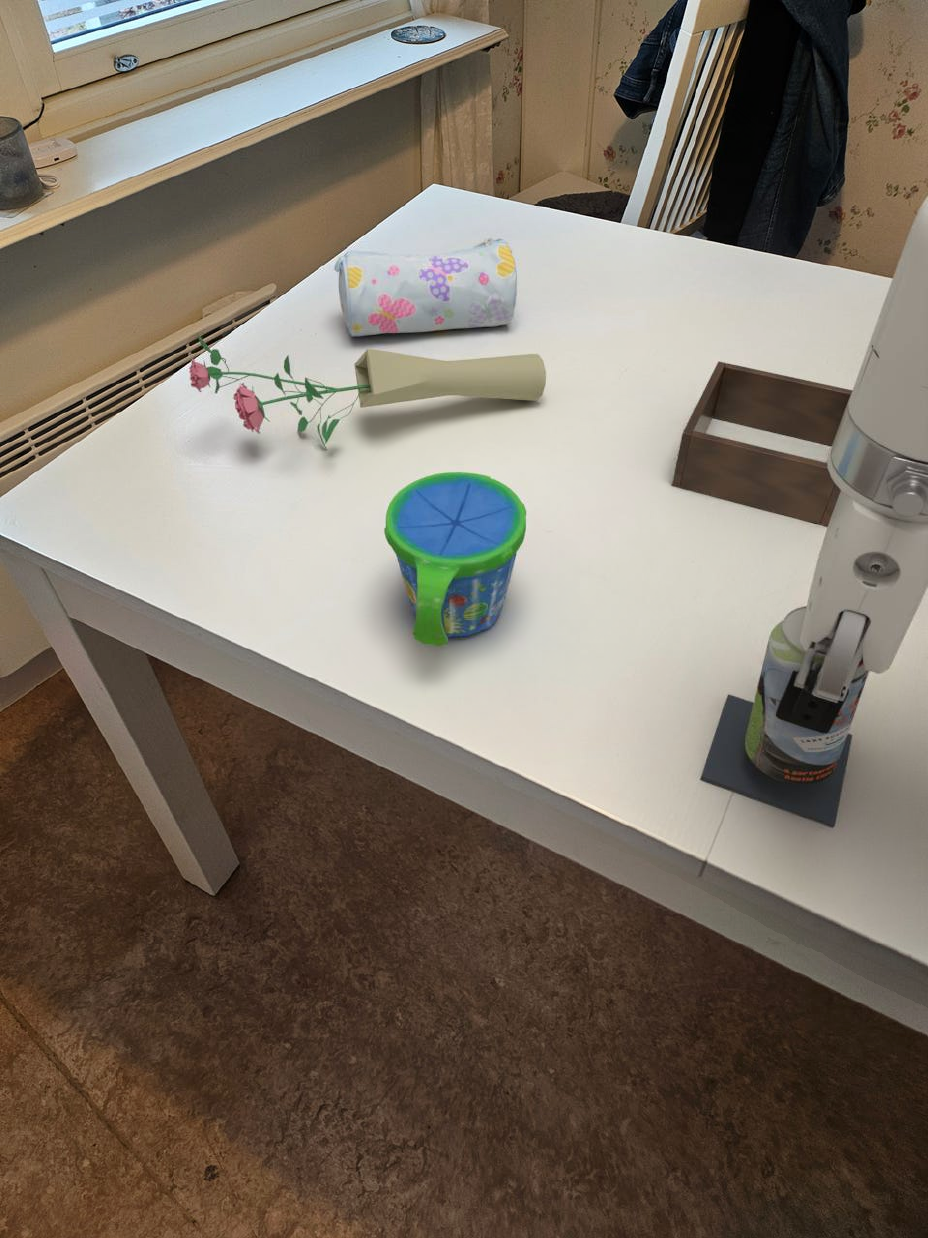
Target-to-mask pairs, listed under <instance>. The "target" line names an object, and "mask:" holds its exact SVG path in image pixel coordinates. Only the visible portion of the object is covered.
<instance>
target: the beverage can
mask: <svg viewBox="0 0 928 1238" xmlns="http://www.w3.org/2000/svg"><path fill="white" fill-rule="evenodd" d="M806 606H807V605H803V606H800V607H797V608H794V609H792V610H791V611H789V612H788V613H787V614H786V615H785V616H784V618H783V619H782V620H781V621H779V622H778V623H776V625H775V626H774V627H773V629H772V630H771V632H770V634H769V637H768V640H767V644H766V645H767V646H766V647H765V653H764V656H763V657H764V658H763V661H762V666H761V669H760V674H759V678H758V683H757V687H756V690H755V691H756V692H755V696H754V700H753V703H754V704H753V708H752V712H751V717H750V721H749V725H748V730H747V734H746V739H745V748H746V751H747V754H748V756H749V758H750V759H751V761H752V762H753V763H754V765H755V766H756V767H757V768H759V769H760V770H761V771H762V772H764V773H765V774H767V775H768V776H770V777H772V778H774V779H777V780H779V781H782V782H786V783H790V784H799V785H804V784H813V783H817V782H820V781H823V780H824V779H826V778H828V777H829V776H830V775H831V774H832V773H833V772H834V770H835V769H836V767H837V764H838V761H839V758H840V755H841V752H842V749H843V746H844V744H845V741H846V738H847V735H848V734H849V732H850V729H851V725H852V723H853V720H854V717H855V714H856V711H857V708H858V706H859V701H860V699H861V696H862V694H863V691H864V688H865V684H866V682H867V679H868V676H869V674H870V671H868V670H865V669H864V663H863V656H862V658H861V661H860V662H859V665H858V667H857V670H856V672H855V674H854V677H853V679H852V682H851V684H850V687H849V693H848V696H847V698H846V700H845V702H844V704H843V706H842V708H841V710H840V712H839V713H838V715H837V717H836V719H835V721H834V723H833V725H832V727H831V729H830V731H829V732H828V733H825V734H824V733H819V732H816V731H813V730H810V729H807V728H804V727H801V726H798V725H795V724H792V723H789V722H786V721H783V720H780V719H778V718H777V717H776V711H777V708H778V705H779V703H780V701H781V698H782V696H783V693H784V691H785V689H786V686H787V684H788V682H789V679H790V677H791V674H792V672H793V671H796V672H797V671H799V668H800V666H801V663H802V660H803V658H804V655H805V652H806V651H805V650H804V648H803V647H802V645H801V643H800V635H801V630H802V626H803V621H804V616H805V611H806ZM832 636H833V632H831V634H830V635H828V636H827V638H830V639H832ZM825 657H826V655H825V654H821V653H818V652H817V655H816V658H815V660H814V663H813V665H812V668H811V669H812V670H815V671H818V672H820V671H821V668H822V665H823V663H824V660H825Z"/></svg>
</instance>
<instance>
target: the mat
mask: <svg viewBox="0 0 928 1238" xmlns="http://www.w3.org/2000/svg"><path fill="white" fill-rule="evenodd" d="M753 704H754V701H750V700H748V699H744V698H741V697H738V696H735V695H732V694H729V693H728V694H727V697H726V699H725V702H724V706H723V708H722V710H721V711H722V712H721V715H720V718H719V720H718V724H717V726H716V730H715V733H714V736H713V739H712V742H711V744H710V748H709V750H708V754H707V757H706V760H705V764H704V767H703V770H702V773H701V776H700V780H701V781H704V782H706V783H709V784H712V785H715V786H718V787H721V788H723V789H726V790H729V791H731V792H734V793H737V794H739V795H742V796H745V797H748V798H751V799H754V800H756V801H759V802H761V803H765V804H768V805H770V806H773V807H775V808H778V809H781V810H784V811H787V812H790V813H792V814H795V815H797V816H799V817H800V816H801V817H803V818H805V819H809V820H812V821H814V822H816V823H820V824H823V825H825V826H827V827H831V828H834V827H835V825H836V821H837V816H838V810H839V806H840V801H841V795H842V791H843V790H842V789H843V785H844V780H845V776H846V775H845V774H846V771H847V770H846V768H847V765H848V759H849V756H850V755H849V754H850V750H851V749H850V748H851V743H852V740H853V739H852V738H853V735H852V734H851V733H848V735H847V738H846V741H845V744H844V746H843V749H842V752H841V755H840V758H839V761H838V764H837V767H836V769H835V770H834V772H833V773H832V774H831V775H830V776H829V777H828V778H826V779H824V780H823V781H820V782H817V783H813V784H804V785H799V784H790V783H786V782H782V781H779V780H777V779H774V778H772V777H770V776H768V775H767V774H765V773H764V772H762V771H761V770H760V769H759V768H757V767H756V766H755V765H754V763H753V762H752V761H751V759H750V758H749V756H748V754H747V751H746V748H745V739H746V734H747V730H748V725H749V721H750V717H751V712H752V708H753Z"/></svg>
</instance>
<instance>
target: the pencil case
mask: <svg viewBox="0 0 928 1238" xmlns="http://www.w3.org/2000/svg"><path fill="white" fill-rule="evenodd" d="M508 244H509V242H508V241H506V240H504V239H503V238H495V239H494V238H493V237H488V238H485V239H484V241H481V242H480V243H478V244H476V245H474V246H472V247H467V248H463V249H459V250H458V249H457V250H454V251H449V252H446V253H442V254H436V255H435V254H433V255H418V254H416V255H415V254H393V253H392V254H391V253H383V252H377V251H364V250H363V251H361V250H351V249H350V250H347V251H346V252H345V253H344V254H343V255H340V256H339V257H338V258H337V260H336V262H335V265H334V266H333V269H334V271H335V272H336V273H338V294H339V301H340V303H339V304H340V307H341V311H342V315H343V317H344V321H345V324H346V326H347V333H348V334H349V335H350V337H365V336H374V335H375V336H376V335H380V334H401V333H404V334H405V333H406V334H407V333H427V332H434V331H436V332H437V331H444V330H445V331H446V330H454V329H455V330H457V329H472V328H473V329H474V328H485V327H486V328H487V327H489V328H490V327H498V326H504V325H509V324H511V323H512V321H513V319H514V316H515V310H516V309H515V308H516V305H517V304H516V303H517V294H518V271H517V264H516V261H515V257H514V254H513V249H512V247H510V245H508Z"/></svg>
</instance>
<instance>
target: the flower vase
mask: <svg viewBox="0 0 928 1238" xmlns="http://www.w3.org/2000/svg"><path fill="white" fill-rule="evenodd" d="M197 338H198V340H199V341H198V342H200V345H201V346H202V347H203V349H204V350H205V351H206V352H207V353H209V359H210V363H211V364H212V365H214V366H212V365H211V366H206V362H205V361H203V364H202V363H200V362H198V361H196V359H195V358H192V359H191V362H190V363H191V364H190V366H189V368H188V369H189V374H190V376H189V380H190V386H191V387H192V388H195V389H197V390H198V392H199V393H202V392H203V391H202V389H204V388H206V387H209V388H211V386H210V381H211V378H212V379H213V380H215V391H214V393H215V394H217V393H218V392H219V390H220V388H222V387H225V386H228V385H231V384H233V383H236V382H238V381H241V380H243V379H245V378H247V377H250V376H251V377H257V378H262V379H267V380H272V381H273V382H274V385H275V386H276V388H278V389H279V390H280V391H281V392H282V393H283V395H284V396H281V397H278V398H273V399H269V400H266V401H261V400H260V398H259V396H257V395H256V393H255V390H254V386H253V385H252V386H251V387H252V388H251V389H249V388H248V386H247V385H245V383H244V382H242V383H240V382H239V386H238V388H237V389H236V390H235V391H236V392H235V393H234V394H233V397H232V399H233V400H234V401H235V402H234V408H235V410H236V412H237V414H238V418H239V419H240V420H243V424H242V426H243V427H245V429H247V430H250V431H251V432H252V433H255V432H256V433H257V434H261V432H260V430H261V426H262V424H263V421H264V419H265V420H266V421H268V422H269V423H270V422H271V421H270V419H268V418H267V417H266V414H265V409H264V407H263V406H266V405H271V404H274V403H278V402H284V401H289V400H293V399H297V401H296V403H295V402H292V401H289V404H290V406H292V407H293V409H295V410H296V411H297V413H298V415H299V416H302V415H303V411H302V410H301V409H300V408H299V407H298V403H299V400H300V398H306V401H307V402H308V404H310V403H311V402H312V401H313V400H315V401H316V402H317V403H318V404H319V405H320V407H319V408H318V410H317V411H316V413H315V414H314V416H313V417H312V418H311V419H310V421H308V419H307V418H306V417H305V416H302V417H300V419H299V421H298V422H297V430H296V432H297V434H298V435H299V434H301V433H303V432H305V431H306V429H307V427H308V425H309V423H311V422H312V421H313V420H314V419H315V417H316V416H317V414H318V413H319V417H320V419H322V413H321V412H320V411H321V408H322V407H323V406H324V405H325V403H326V402H327V401H328V400H329V399H330V398H331V397H332V396H333V395H334V394H336V393H339V392H347V391H353V390H354V391H355V390H357V392H358V394H357V397H356V398H355V400H354V401H353V402H352V403H351V404H350V405H348V406H347V407H345V408H342V409H340V410H339V411H337V412H335V413H334V414H332V415H330V414H328V415H327V418H326V420H325V421H324V422H323V424H322V420H320V421H319V423H318V424H317V427H316V429H317V434H318V436H319V438H320V441H321V443H322V445H323V446H324V449H325V450H326V451H328V449H327V446H326V445H327V443H328V441H329V439H330V438H331V436H332V434H333V432H334V430H335V428H336V427H337V425H338V424H339V422H340V420H341V419H343V418H345V417H348V416H349V414H350V413H351V412H352V410H353V407H354V405H355V403H356V402H357V400H359V401H358V402H359V407H360V409H363V408H369V407H376V406H377V407H378V406H384V405H391V404H397V403H404V402H405V403H406V402H412V401H418V400H419V401H420V400H426V399H433V398H440V397H446V396H455V397H457V396H459V397H473V398H487V399H502V400H504V399H505V400H518V401H534V402H537V401H538V400H539V399H540V398H541V397H542V396H543V394H544V390H545V388H546V382H547V381H546V380H547V371H546V366H545V362H544V359H543V358H542V357H541V355H540V354H539V353H528V354H527V353H526V354H515V355H505V356H494V357H482V358H481V357H480V358H471V359H458V360H441V359H436V358H429V357H423V356H416V355H410V354H406V353H405V354H404V353H399V352H398V353H397V352H391V351H387V350H379V349H373V348H367V349H366V350H365V351H364V353H362V354H361V355H360V357H359V358H358V359H357V361H356V362H354V364H353V365H354V371H355V378H356V385H352V386H345V387H332V386H327V385H324V384H323V383H321V382H320V381H316V380H312V379H310V378H307V377H306V376H305V378H304V382H303V381H302V382H301V381H295V380H294V378H293V376H292V375H291V365H290V364H291V363H290V355H289V354H287V356H286V357H285V359H284V361H283V369H284V372H285V373H286V375H288V376H289V377H290V379H292V380H290V379H284V378H281V377H280V375H279V372H277V373H276V374H275V376H268V375H264V374H260V373H255V372H253V373H252V372H244V371H230V369H229V366H228V364H227V359H226V358H224V357H222V354H221V353H220V351H219V349H216V348H214V349H210V348H209V346H208V345H207V343H206V341H205V340H203V337H202V336H200V334H199V333H197ZM221 361H223V363H224V364H225V366H226V368H227V371H222V369H221V368H219V367H216V366H219V364H220V362H221ZM227 375H228V376H227ZM229 375H238V376H243V377H241V378H235V377H231V376H229ZM221 378H228V379H231V380H233V381H231V382H229V383H226V384H223V385H220V381H219V380H221ZM311 382H314V383H311ZM283 383H288V384H293V385H294V388H295V389H296V390H297V394H292V395H286V393H296V391H294V390H284V387H283ZM315 383H316V384H315ZM297 385H299V386H304V388H305V391H301V390H299V389H298V387H297ZM316 388H319V389H323V390H317V389H316ZM324 394H330V395H329V396H328V397H327V398H326V399H325V400H324V397H323V396H322V395H324ZM316 398H317V399H322V400H324V401H323V403H321V402H319V401H318V400H317V399H316ZM349 407H351V409H350V411H349V412H348V413H347V414H346V415H343V416H342V417H341V418H333V419H332V420H331V421H330V422H328V420H329V419H331V418H332V417H334V416H335V415H337V414H338V413H340V412H342V411H344V410H346V409H348V408H349ZM328 423H329V424H328ZM321 424H322V426H320V425H321ZM320 427H321V429H320ZM254 431H255V432H254ZM322 437H323V438H322ZM324 441H325V442H324Z"/></svg>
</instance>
